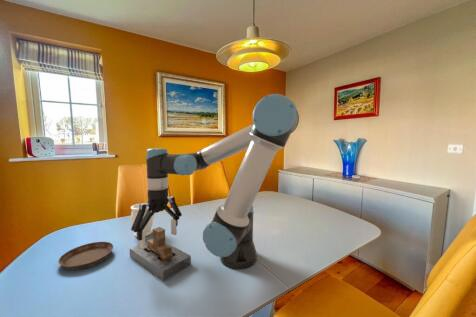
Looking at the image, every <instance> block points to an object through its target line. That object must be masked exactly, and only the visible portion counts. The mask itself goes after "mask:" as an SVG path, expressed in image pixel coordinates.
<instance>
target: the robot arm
mask: <svg viewBox="0 0 476 317" xmlns="http://www.w3.org/2000/svg"><path fill="white" fill-rule="evenodd" d="M252 122H253V123H252V124H250V125H249V126H246V127H244V128H243V129H240V130H238V131H236V132H234V133H233V134H230V135H228V136H226V137H224V138H222V139H221V140H218V141H216V142H215V143H214V142H213V143H212V144H210V145H208V146H206V147H204V148H202V149H200V150H198V151H195V152H190V153H180V154H179V153H173V154H172V153H169V152H168V150H167V148H161V147H160V148H148V149H147V150H146V158H145V161H146V178H147V180H146V181H147V182H146V183H147V184H146V186H147V191H146V192H147V202H145V203H146V204H142V203H143V202H142V203H141V204H140V203H139V204H140V205H139V211H138V214H137V216H136V218H135V221H134V223H133V225H132V224H131V225H132V226H131V228H130V231H132V232H134V233H135V232H137V237H136V240H137V241H139V245H140V247H141V248H142V249H145V242H146V236H145V231H144V230H143V229H144V228H145V226H146V225H147V223H148V221H149V220H150V218H151V217H152V215H155V213H156V214H157V213H159V212H163V211H165V213H167V214H168V215H170V217H171V219H170V231H171V232H170V234H171V235H173V236H177V234H178V233H177V227H178V225H179V222H178V221H179V220H180V217H182V212H181V210H180V208H179V206H178V205H177V203H176V198H175V196H169V187H168V186H169V176H168V175H179V176H191V175H193V174H194V173H195V172H197V171H202V170H205V169H207V168H209V167H210V166H212V165H214V164H216V163H218V162H220V161H223V160H225V159H227V158H230V157H232V156H234V155H236V154H238V153H240V152H243V151H245V150H246V151H245V154H244V156H243V159H242V161H241V164H240V165H239V169H238V171H237V173H236V175H235V178H234V180H233V182H232V184H231V187H230V190H229V192H228V195H227V197H226V199H225V201H224V203H223V204H222V205H219V206H218V207H217V209H216V211H215V213H214V215H213V218H212V220H211V222H210V223H208V224H207V225H206V226H205V228H204V229H203V232H202V241H203V243H204V246H205V247H206V249H207V251H208V252H210V253H211V254H212V255H214V256H216V257H218V258H219V260H220V262H221V264H223V265H224V266H226V267H227V268H229V269H237V270H243V268H244V269H247V267H248V268H250V267H252V266H254V265H255V264H256V262H257V260H258V259H257V258H258V253H257V250H256V245H255V243H254V207H253V206H254V205H253V204H254V202H255V200H256V198H257V195H258V193H259V192H260V189H261V186H262V184H263V182H264V181H265V178H266V175H267V173H268V172H269V170H270V167H271V165H272V163H273V160H274V159H275V157H276V154H277V152H278V151H280V150H282V149H285V146H286V144H287V143H288V140H289V138H290V136H291V134H293V133H294V132H295V130H296V129H297V127H298V126H299V122H300V115H299V112H298V109H297V106H296V104H295V103H294V102H293V101H292V100H291V99H290V98H289V97H287V96H285V95H283V94H280V93H273V94H272V93H271V94H268V95H266V96H263V97H262V98H261V99H259V101H258V102H257V103H256V105H255V106H254V109H253V111H252ZM168 203H169V204H170V206H171V208H172V209H171V208H170V206H168ZM147 207H149V208H148V210H147V213H146V214H145V211H146V209H147ZM151 211H152V212H151ZM144 214H145V216H144ZM143 216H144V217H143ZM254 263H255V264H254ZM253 264H254V265H253ZM251 265H252V266H251Z"/></svg>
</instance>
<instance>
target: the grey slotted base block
mask: <svg viewBox="0 0 476 317" xmlns="http://www.w3.org/2000/svg"><path fill="white" fill-rule="evenodd" d="M165 244H167V245H168V246H170V247H172V254H173V257H171V258H169V259H168V260H166V261H164V262H162V261H160V255H159V254H157V253H156V252H154V251H151V252H149V253H148V252H146V248H147V241H145V249H142V248H141V247H140V244H137V245H134V246H132V247H130V248H129V257H130V258H131V259H132V260H133V261H135V262H137V263H138V264H139V265H140V266H142V267H143V268H144V269H146V270H147V271H148V272H149V273H151V274H153V275H154V276H155V277H156V278H158V279H160V280H161V281H162V282H165V281H166V280H168V279H170V278H171V277H173V276H175V275H177V274H178V273H180V272H181V271H182V270H184V269H186V268H187V267H189V266H191V264H192V255H191V254H188V253H187V252H185V251H183V250H182V249H179V248H177V247H175V246H173V245H172V244H169V243H167V242H166V241H165Z"/></svg>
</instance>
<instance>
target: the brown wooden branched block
mask: <svg viewBox="0 0 476 317" xmlns="http://www.w3.org/2000/svg"><path fill="white" fill-rule="evenodd" d="M151 230H152V238H150V239H147V241H146V242H147V248H146V252H148V253H149V252H151V251H154V252H156V253H157V254H159V255H160V261H162V262H164V261H166V260H168V259H169V258H171V257H173V254H172V247H170V246H168V245H167V244H165V242H166V229H165V228H163V227H161V226H158V227H155V228H151Z"/></svg>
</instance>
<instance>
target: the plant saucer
mask: <svg viewBox="0 0 476 317" xmlns="http://www.w3.org/2000/svg"><path fill="white" fill-rule="evenodd" d="M113 249H114V245H113V243H111V242H109V241H96V242H89V243H85V244H83V245H79V246H76V247H74V248H72V249H70V250H68V251H66V252H65V253H64V254H62V255H61V256H60V257H59V258H58V260H57V261H58V264H59V265H60V266H61V267H62V268H64V269H67V270H70V271H71V270H72V271H73V270H74V271H77V270H83V269H88V268H90V267H93V266H96V265H98V264H100V263H102V262H103V261H105V259H107V258H108V257H109V256H110V254H111V253H112V251H113Z"/></svg>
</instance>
